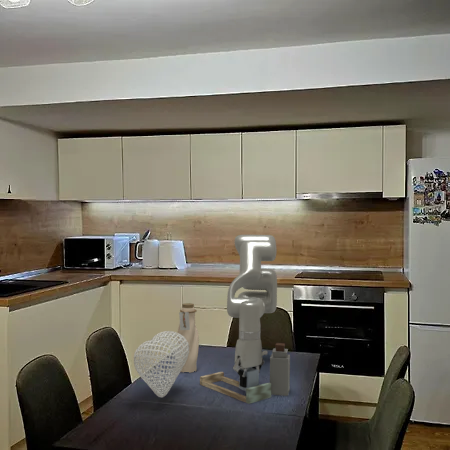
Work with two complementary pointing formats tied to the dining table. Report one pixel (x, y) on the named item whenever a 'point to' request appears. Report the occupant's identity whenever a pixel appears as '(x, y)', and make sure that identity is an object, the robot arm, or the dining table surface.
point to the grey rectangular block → (251, 378)
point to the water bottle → (189, 336)
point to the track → (251, 393)
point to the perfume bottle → (280, 370)
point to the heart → (177, 369)
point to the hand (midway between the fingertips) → (248, 384)
